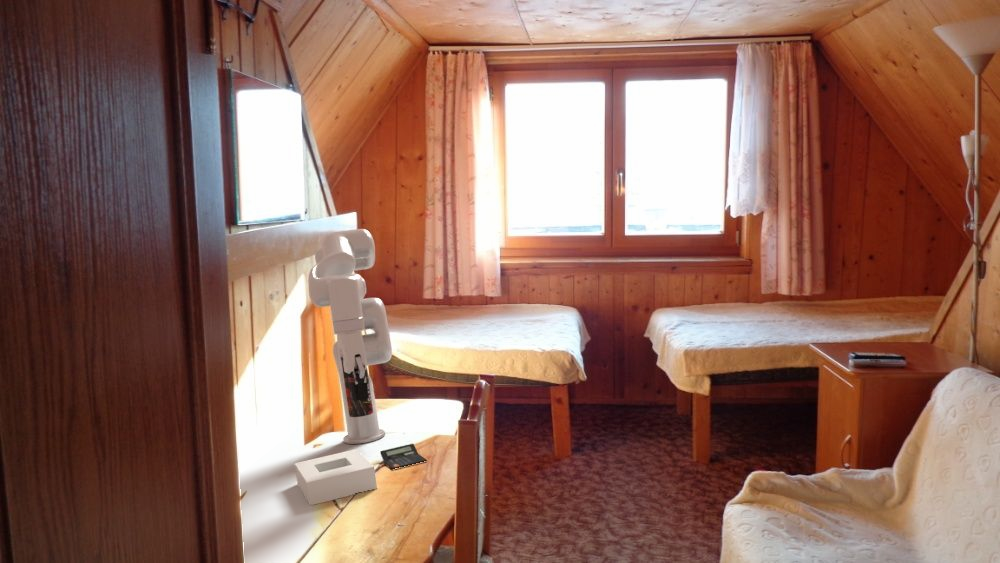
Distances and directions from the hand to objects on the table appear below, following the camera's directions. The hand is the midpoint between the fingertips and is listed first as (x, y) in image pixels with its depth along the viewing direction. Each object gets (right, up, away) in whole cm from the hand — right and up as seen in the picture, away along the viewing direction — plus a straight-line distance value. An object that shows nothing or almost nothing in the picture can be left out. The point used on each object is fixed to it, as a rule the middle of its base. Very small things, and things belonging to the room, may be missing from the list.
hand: (358, 396), depth 194 cm
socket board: (-6, -22, 0) cm, 23 cm away
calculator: (+9, -20, +15) cm, 26 cm away
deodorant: (+1, -5, 0) cm, 5 cm away
